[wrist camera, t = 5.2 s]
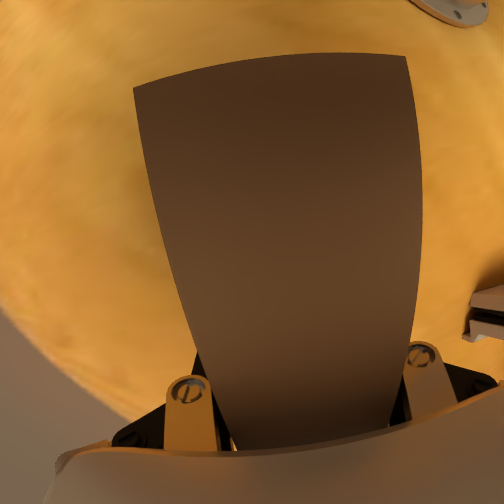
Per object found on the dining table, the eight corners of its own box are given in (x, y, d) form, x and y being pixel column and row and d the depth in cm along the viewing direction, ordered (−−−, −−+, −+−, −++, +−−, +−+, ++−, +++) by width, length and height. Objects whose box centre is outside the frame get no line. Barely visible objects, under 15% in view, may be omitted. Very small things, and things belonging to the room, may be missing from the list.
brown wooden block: (205, 118, 9) (44, 60, 1) (322, 102, 9) (490, 21, 1) (270, 434, 15) (272, 551, 7) (336, 424, 15) (358, 539, 7)
